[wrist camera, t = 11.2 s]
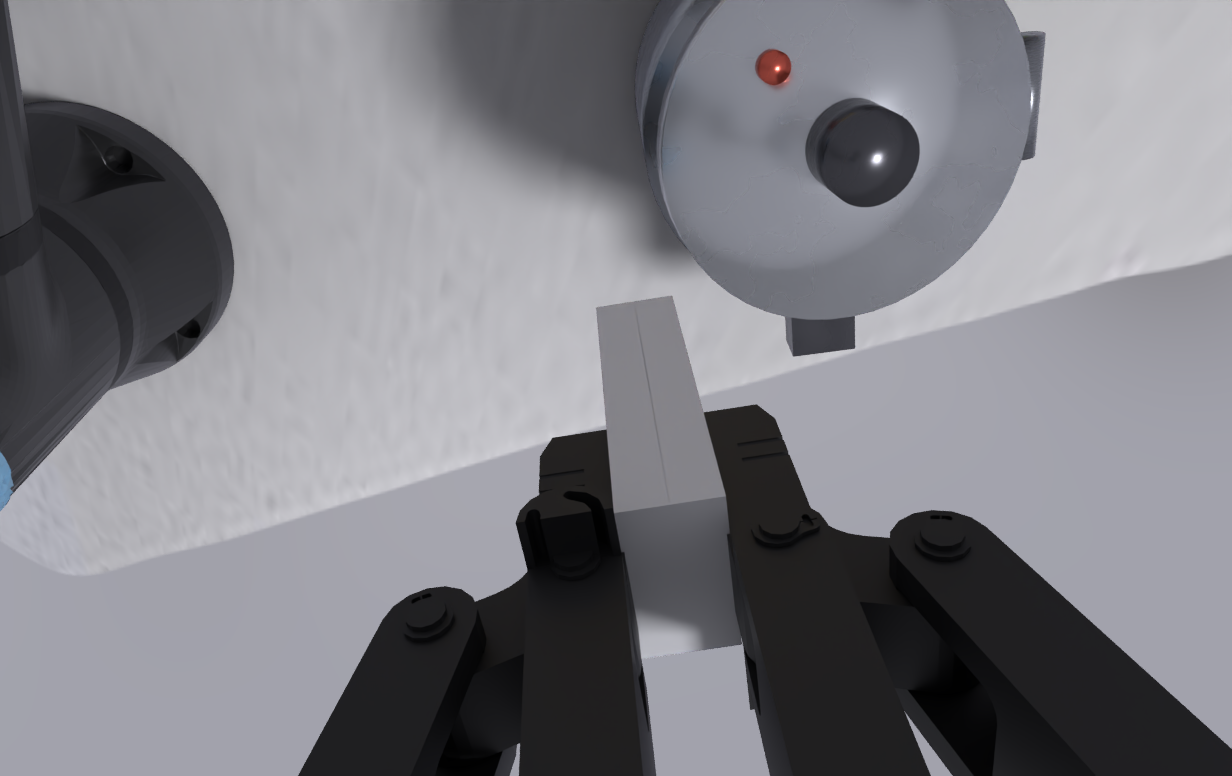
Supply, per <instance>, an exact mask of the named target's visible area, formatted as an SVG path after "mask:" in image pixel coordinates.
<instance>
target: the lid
mask: <svg viewBox="0 0 1232 776" xmlns="http://www.w3.org/2000/svg"><path fill="white" fill-rule="evenodd" d="M1030 115H1031V78H1030V68H1029V61H1028V57H1027V53H1026V49H1025V45H1024V41H1023V38H1022V35H1021V33H1020V30H1019V28H1018V25H1017V23H1016V20H1015V18H1014V16H1013V14H1012V12H1011V11H1010V9H1009V7H1008V6H1007V4H1006V2H1005V0H716V1H715V2H714V3H713V4H712V6H711V7H710V8H709V9H708V10H707V12H706V13H705V14H704V15H703V17H702V18H701V19H700V20H699V22H698V23H697V25H696V26H695V28H694V30H693V31H692V33H691V34H690V36H689V37H688V39H687V41H686V42H685V44H684V46H683V48H682V50H681V52H680V54H679V56H678V58H677V60H676V62H675V65H674V67H673V69H672V71H671V74H670V77H669V80H668V83H667V86H666V89H665V92H664V96H663V101H662V106H661V110H660V115H659V120H658V133H657V165H658V174H659V180H660V185H661V191H662V195H663V198H664V201H665V204H666V207H667V210H668V213H669V216H670V218H671V220H672V222H673V224H674V226H675V228H676V230H677V232H678V234H679V236H680V238H681V239H682V241H683V243H684V244H685V246H686V247H687V249H688V250H689V251H690V253H691V254H692V256H693V257H694V259H695V260H696V262H697V263H698V264H699V265H700V266H701V268H702V269H703V270H704V271H705V272H706V273H707V274H708V275H709V276H710V277H711V278H712V279H713V280H714V281H715V282H716V283H717V284H719V285H720V286H721V287H722V288H724V289H725V290H726V291H727V292H729V293H730V294H732V295H734V296H735V297H737V298H739V299H740V300H742V301H744V302H745V303H747V304H749V305H752V306H754V307H757V308H759V309H761V310H764V311H766V312H770V313H774V314H777V315H781V316H785V317H791V318H799V319H807V320H826V319H837V318H845V317H852V316H856V315H860V314H864V313H868V312H872V311H875V310H878V309H880V308H883V307H886V306H888V305H891V304H894V303H896V302H898V301H900V300H902V299H904V298H906V297H908V296H910V295H912V294H913V293H915V292H917V291H918V290H920V289H922V288H923V287H925V286H926V285H928V284H929V283H931V282H932V281H934V280H935V279H937V278H938V277H939V276H940V275H941V274H943V273H944V272H945V271H946V270H948V269H949V268H950V267H951V266H953V265H954V264H955V263H956V262H957V261H958V260H959V259H960V258H961V257H962V256H963V255H964V254H965V253H966V252H967V251H968V250H969V249H970V248H971V247H972V246H973V244H974V243H975V242H976V241H977V239H978V238H979V237H980V236H981V234H982V233H983V232H984V231H985V230H986V228H987V227H988V225H989V224H990V222H991V221H992V219H993V218H994V216H995V215H996V213H997V212H998V210H999V209H1000V207H1001V205H1002V203H1003V201H1004V199H1005V197H1006V195H1007V193H1008V191H1009V190H1010V188H1011V186H1012V183H1013V181H1014V178H1015V176H1016V173H1017V170H1018V168H1019V165H1020V163H1021V159H1022V156H1023V152H1024V148H1025V144H1026V140H1027V136H1028V129H1029V122H1030Z"/></svg>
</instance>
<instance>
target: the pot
mask: <svg viewBox="0 0 1232 776" xmlns="http://www.w3.org/2000/svg"><path fill="white" fill-rule="evenodd" d="M715 1H716V0H660V1H659V3H658V4H657V6H656V8H655V10H654V12H653V14H652V16H651V18H650V20H649V22H648V25H647V27H646V30H645V33H644V36H643V39H642V42H641V45H640V49H639V54H638V59H637V65H636V75H635V100H636V110H637V115H638V121H639V127H640V132H641V138H642V144H643V150H644V155H645V161H646V166H647V171H648V176H649V181H650V184H651V187H652V190H653V193H654V196H655V199H656V202H657V204H658V206H659V208H660V210H661V212H662V214H663V216H664V218H665V220H666V221H667V223H668V224H669V226H670V227H671V229H672V230H673V232H674V233H675V235H676V236H677V238H678V239H679V240H680V241H681V242H682V243H683V241H682V239H681V238H680V236H679V234H678V232H677V230H676V228H675V226H674V224H673V222H672V220H671V218H670V216H669V213H668V210H667V207H666V204H665V201H664V198H663V195H662V191H661V185H660V180H659V174H658V165H657V133H658V120H659V115H660V110H661V106H662V101H663V96H664V92H665V89H666V86H667V83H668V80H669V77H670V74H671V71H672V69H673V67H674V65H675V62H676V60H677V58H678V56H679V54H680V52H681V50H682V48H683V46H684V44H685V42H686V41H687V39H688V37H689V36H690V34H691V33H692V31H693V30H694V28H695V26H696V25H697V23H698V22H699V20H700V19H701V18H702V17H703V15H704V14H705V13H706V12H707V10H708V9H709V8H710V7H711V6H712V4H713V3H714V2H715ZM1020 33H1021V35H1022V38H1023V41H1024V45H1025V49H1026V53H1027V57H1028V61H1029V68H1030V78H1031V115H1030V122H1029V129H1028V136H1027V140H1026V144H1025V148H1024V152H1023V156H1022V159H1021V160H1026V159H1030V158H1033V157H1034V156H1035V148H1036V136H1037V125H1038V114H1039V103H1040V91H1041V80H1042V69H1043V57H1044V46H1045V35H1046V33H1045V32H1039V31H1028V32H1020ZM683 244H684V243H683ZM684 246H685V244H684ZM685 247H686V246H685ZM686 248H687V247H686ZM785 322H786V340H787V343H788V345H789V348H790V350H791V352H792V355H793V357H794V356H801V355H809V354H817V353H824V352H832V351H840V350H847V349H855V316H852V317H845V318H837V319H826V320H807V319H799V318H791V317H785Z"/></svg>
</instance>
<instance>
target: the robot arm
mask: <svg viewBox="0 0 1232 776" xmlns="http://www.w3.org/2000/svg"><path fill="white" fill-rule="evenodd" d="M233 276H234V259H233V250H232V244H231V240H230V236H229V232H228V229H227V226H226V223H225V221H224V218H223V216H222V213H221V211H220V209H219V207H218V205H217V203H216V202H215V200H214V198H213V196H212V195H211V193H210V191H209V190H208V188H207V187H206V185H205V184H204V183H203V181H202V180H201V179H200V177H199V176H198V175H197V174H196V173H195V171H194V170H193V169H192V168H191V167H190V166H189V165H188V164H187V163H186V162H185V160H184V159H183V158H182V157H180V156H179V155H178V154H177V153H176V152H175V151H174V150H173V149H172V148H170V147H169V146H168V145H167V144H165V143H164V142H163V141H161V140H160V139H159V138H157V137H156V136H155V135H153V134H151V133H150V132H148V131H147V130H145V129H144V128H142V127H140V126H138V125H136V124H135V123H133V122H131V121H129V120H126V119H124V118H122V117H120V116H117V115H115V114H112V113H110V112H107V111H104V110H101V109H98V108H94V107H90V106H86V105H80V104H75V103H66V102H37V103H29V104H24V103H23V97H22V90H21V84H20V78H19V71H18V65H17V58H16V52H15V45H14V39H13V32H12V26H11V19H10V13H9V6H8V0H0V511H1V510H2V509H3V508H4V507H5V505H6V504H7V503H8V501H9V499H10V496H11V495H12V494H13V493H14V492H15V491H16V489H17V488H18V487H19V486H20V485H21V484H22V483H23V482H24V481H25V480H26V479H27V478H28V476H29V475H30V474H31V473H32V472H33V471H34V470H35V469H36V468H37V467H38V466H39V465H40V463H41V462H42V461H43V460H44V459H45V458H46V457H47V456H48V455H49V454H50V453H51V452H52V450H53V449H54V448H55V447H56V446H57V445H58V444H59V443H60V442H61V441H62V440H63V439H64V437H65V436H66V435H67V434H68V433H69V432H70V431H71V430H72V429H73V428H74V427H75V426H76V424H77V423H78V422H79V421H80V420H81V419H82V418H83V417H84V416H85V415H86V414H87V413H88V411H89V410H90V409H91V408H92V407H93V406H94V405H95V404H96V403H97V402H98V401H99V400H100V399H101V398H102V396H103V395H104V394H105V393H106V392H107V391H108V390H110V389H113V388H116V387H119V386H122V385H124V384H127V383H130V382H133V381H136V380H139V379H142V378H144V377H147V376H150V375H153V374H156V373H158V372H161V371H163V370H165V369H167V368H169V367H171V366H173V365H174V364H176V363H177V362H179V361H180V360H182V359H183V358H185V357H186V356H187V355H188V354H190V353H191V352H192V351H193V350H194V349H195V348H196V347H197V346H198V345H199V344H200V343H201V342H202V340H203V339H204V338H205V337H206V336H207V335H208V334H209V332H210V331H211V330H212V329H213V328H214V326H215V325H216V324H217V322H218V321H219V319H220V318H221V316H222V314H223V312H224V310H225V308H226V306H227V303H228V301H229V298H230V294H231V290H232V284H233ZM596 310H597V322H598V334H599V345H600V357H601V369H602V380H603V392H604V404H605V415H606V427H607V430H601V431H594V432H588V433H581V434H575V435H568V436H562V437H555V438H552V440H551V441H550V443H549V444H548V446H547V447H546V449H545V450H544V452H543V453H542V455H541V456H540V474H539V476H540V480H539V496H537V497H535V498H533V499H531V500H530V501H529V502H528V503H527V504H526V505H525V506H524V507H523V508H522V509H521V510H520V512H519V515H518V518H517V521H516V526H517V530H518V534H519V538H520V542H521V546H522V550H523V553H524V557H525V561H526V565H527V569H528V571H527V573H526V574H525V575H524V576H523V577H522V578H521V579H520V580H519V581H517V582H516V583H515V584H513V585H512V586H510V587H509V588H506V589H504V590H503V591H500V592H498V593H496V594H494V595H492V596H489V597H486V598H484V599H481V600H479V601H476V602H475V601H474V599H473V597H472V596H470V595H469V594H467V593H466V592H464V591H463V590H462V589H457V588H451V587H446V586H444V587H436V588H428V589H425V590H422V591H420V592H417V593H414V594H412V595H409V596H408V597H406V598H405V599H404V600H402V601H401V602H399V603H398V604H396V605H395V606H393V608H392V609H391V610H390V611H389V613H388V614H387V615H386V616H385V618H384V619H383V620H382V622H381V624H380V626H379V628H378V630H377V631H376V633H375V635H374V637H373V639H372V640H371V642H370V644H369V646H368V648H367V650H366V652H365V653H364V656H363V657H362V659H361V661H360V663H359V664H358V666H357V668H356V670H355V672H354V674H353V675H352V677H351V679H350V681H349V683H348V685H347V687H346V688H345V690H344V692H343V694H342V696H341V698H340V699H339V701H338V703H337V705H336V707H335V709H334V711H333V712H332V714H331V716H330V718H329V720H328V722H327V723H326V725H325V727H324V729H323V731H322V733H321V734H320V736H319V738H318V740H317V742H316V744H315V746H314V747H313V749H312V751H311V753H310V755H309V757H308V758H307V760H306V762H305V764H304V766H303V768H302V770H301V772H300V773H299V775H298V776H509V775H510V772H511V769H512V766H513V763H514V760H515V757H516V748H517V744H518V743H520V764H519V776H656V770H655V760H654V751H653V743H652V734H651V724H650V715H649V706H648V697H647V688H646V683H645V677H644V672H643V666H642V660H641V659H646V658H653V657H659V656H666V655H673V654H679V653H686V652H693V651H700V650H707V649H714V648H721V647H727V646H734V645H741V644H742V642H743V646H744V655H745V665H746V674H747V683H748V693H749V702H750V710H752V709H755V712H756V717H757V721H758V725H759V729H760V734H761V738H762V743H763V747H764V751H765V756H766V760H767V764H768V768H769V773H770V776H931V775H930V773H929V770H928V768H927V766H926V763H925V760H924V758H923V756H922V753H921V751H920V748H919V746H918V743H917V741H916V738H915V736H914V734H913V731H912V729H911V726H910V724H909V721H908V719H907V717H906V714H907V715H908V716H909V718H910V719H911V720H912V722H913V723H914V724H915V726H916V727H917V728H918V730H919V731H920V732H921V734H922V735H923V737H924V738H925V739H926V740H927V742H928V743H929V745H930V746H931V747H932V749H933V750H934V751H935V752H936V754H937V755H938V757H939V758H940V759H941V761H942V762H943V763H944V765H945V766H946V767H947V769H948V770H949V771H950V773H951V774H952V775H953V776H1232V749H1231V748H1230V747H1229V746H1228V745H1227V744H1226V743H1224V742H1223V741H1222V740H1221V739H1220V738H1219V737H1218V736H1217V735H1216V734H1214V733H1213V732H1212V731H1211V730H1210V729H1209V728H1208V727H1207V726H1206V725H1204V724H1203V723H1202V722H1201V721H1200V720H1199V719H1198V718H1196V716H1195V715H1193V714H1192V713H1191V712H1190V711H1189V710H1188V709H1187V708H1186V707H1185V706H1184V705H1182V704H1181V703H1180V702H1179V701H1178V700H1177V699H1176V698H1175V697H1174V696H1172V695H1171V694H1170V693H1169V692H1168V691H1167V690H1166V689H1165V688H1164V687H1163V686H1161V685H1160V684H1159V683H1158V682H1157V681H1156V680H1155V679H1154V678H1153V677H1151V676H1150V675H1149V674H1148V673H1147V672H1146V671H1145V670H1144V669H1142V668H1141V667H1140V666H1139V665H1138V664H1137V663H1136V662H1135V661H1134V660H1133V659H1132V658H1130V657H1129V656H1128V655H1127V654H1126V653H1125V652H1124V651H1123V650H1122V649H1121V648H1119V647H1118V646H1117V645H1116V644H1115V643H1114V642H1113V641H1112V640H1110V639H1109V638H1108V637H1107V636H1106V635H1105V634H1104V633H1103V632H1102V631H1101V630H1100V629H1098V628H1097V627H1096V626H1095V625H1094V624H1093V623H1092V622H1091V621H1090V620H1088V619H1087V618H1086V617H1085V616H1084V615H1083V614H1082V613H1081V612H1079V610H1077V609H1076V608H1075V607H1074V606H1073V605H1072V604H1071V603H1070V602H1069V601H1067V600H1066V599H1065V598H1064V597H1063V596H1062V595H1061V594H1060V593H1059V592H1057V591H1056V590H1055V589H1054V588H1053V587H1052V586H1051V585H1050V584H1048V582H1046V581H1045V580H1044V579H1043V578H1042V577H1041V576H1040V575H1039V574H1038V573H1036V572H1035V571H1034V570H1033V569H1032V568H1031V567H1030V566H1029V565H1028V564H1027V563H1025V562H1024V561H1023V560H1022V559H1021V558H1020V557H1019V556H1018V555H1017V554H1016V553H1014V552H1013V551H1012V550H1011V549H1010V548H1009V547H1008V546H1007V545H1005V544H1004V543H1003V542H1002V541H1001V540H1000V539H999V538H998V537H997V536H996V535H994V534H993V533H992V532H991V531H990V530H989V529H988V528H987V527H985V526H984V525H982V524H981V523H979V522H978V521H976V520H974V519H973V518H971V517H968V516H965V515H961V514H958V513H955V512H951V511H935V510H931V511H926V512H919V513H914V514H911V515H910V516H908V517H906V518H904V519H902V520H900V521H898V523H897V524H896V525H895V527H894V528H893V529H892V530H891V532H890V538H884V537H870V536H861V535H854V534H848V533H845V532H842V531H839V530H836V529H834V528H832V527H830V526H828V524H827V522H826V521H825V520H824V518H823V517H822V516H821V515H820V513H818V512H816V511H815V510H813V509H811V507H810V506H809V503H808V501H807V498H806V495H805V493H804V491H803V488H802V485H801V483H800V480H799V478H798V475H797V473H796V470H795V468H794V465H793V463H792V460H791V458H790V455H788V450H787V448H786V445H785V442H784V440H783V439H782V435H781V432H780V430H779V427H778V425H777V422H776V420H775V418H774V417H772V416H771V415H769V414H768V413H767V412H766V411H764V410H763V409H762V408H760V407H759V406H758V405H750V406H744V407H737V408H730V409H724V410H717V411H711V412H704V413H703V409H702V405H701V402H700V398H699V394H698V390H697V387H696V383H695V379H694V375H693V372H692V368H691V364H690V361H689V357H688V353H687V349H686V346H685V342H684V338H683V335H682V331H681V327H680V323H679V320H678V316H677V312H676V308H675V305H674V301H673V297H672V296H667V297H660V298H654V299H648V300H641V301H635V302H628V303H622V304H616V305H609V306H603V307H597V308H596ZM741 638H742V642H741ZM904 711H905V712H906V714H905V712H904Z"/></svg>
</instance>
